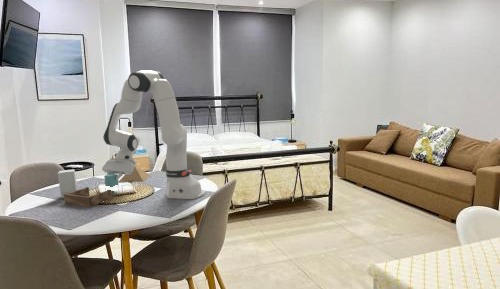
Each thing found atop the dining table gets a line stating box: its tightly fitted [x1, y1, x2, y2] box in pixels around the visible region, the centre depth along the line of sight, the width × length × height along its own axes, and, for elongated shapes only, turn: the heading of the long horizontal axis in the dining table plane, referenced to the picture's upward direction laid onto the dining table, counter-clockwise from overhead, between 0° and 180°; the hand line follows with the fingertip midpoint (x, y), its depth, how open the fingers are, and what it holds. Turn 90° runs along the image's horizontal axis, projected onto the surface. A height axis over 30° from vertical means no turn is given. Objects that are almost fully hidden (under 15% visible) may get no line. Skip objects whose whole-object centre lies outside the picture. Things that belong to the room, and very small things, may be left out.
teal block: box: [104, 173, 119, 187], centre depth 206 cm, size 5×5×9 cm
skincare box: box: [57, 168, 79, 199], centre depth 201 cm, size 8×6×15 cm
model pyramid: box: [118, 165, 151, 183], centre depth 238 cm, size 17×17×10 cm
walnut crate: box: [63, 186, 113, 208], centre depth 192 cm, size 15×18×5 cm
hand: (111, 179), depth 206 cm, fingers closed on teal block, 5 cm apart
